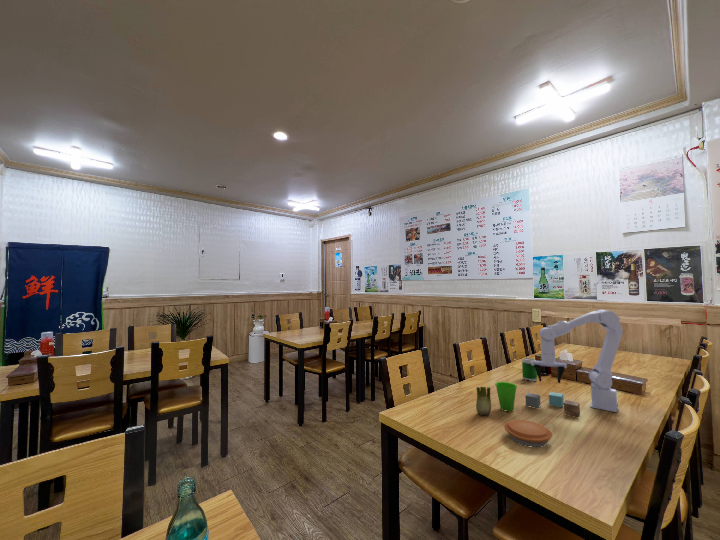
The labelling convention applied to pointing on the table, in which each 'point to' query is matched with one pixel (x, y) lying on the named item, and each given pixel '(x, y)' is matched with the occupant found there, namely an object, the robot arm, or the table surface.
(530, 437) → the pie
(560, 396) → the teal block
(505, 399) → the cup
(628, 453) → the table surface
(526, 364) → the soda can
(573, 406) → the walnut block
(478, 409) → the fennel bulb
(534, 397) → the charcoal block
